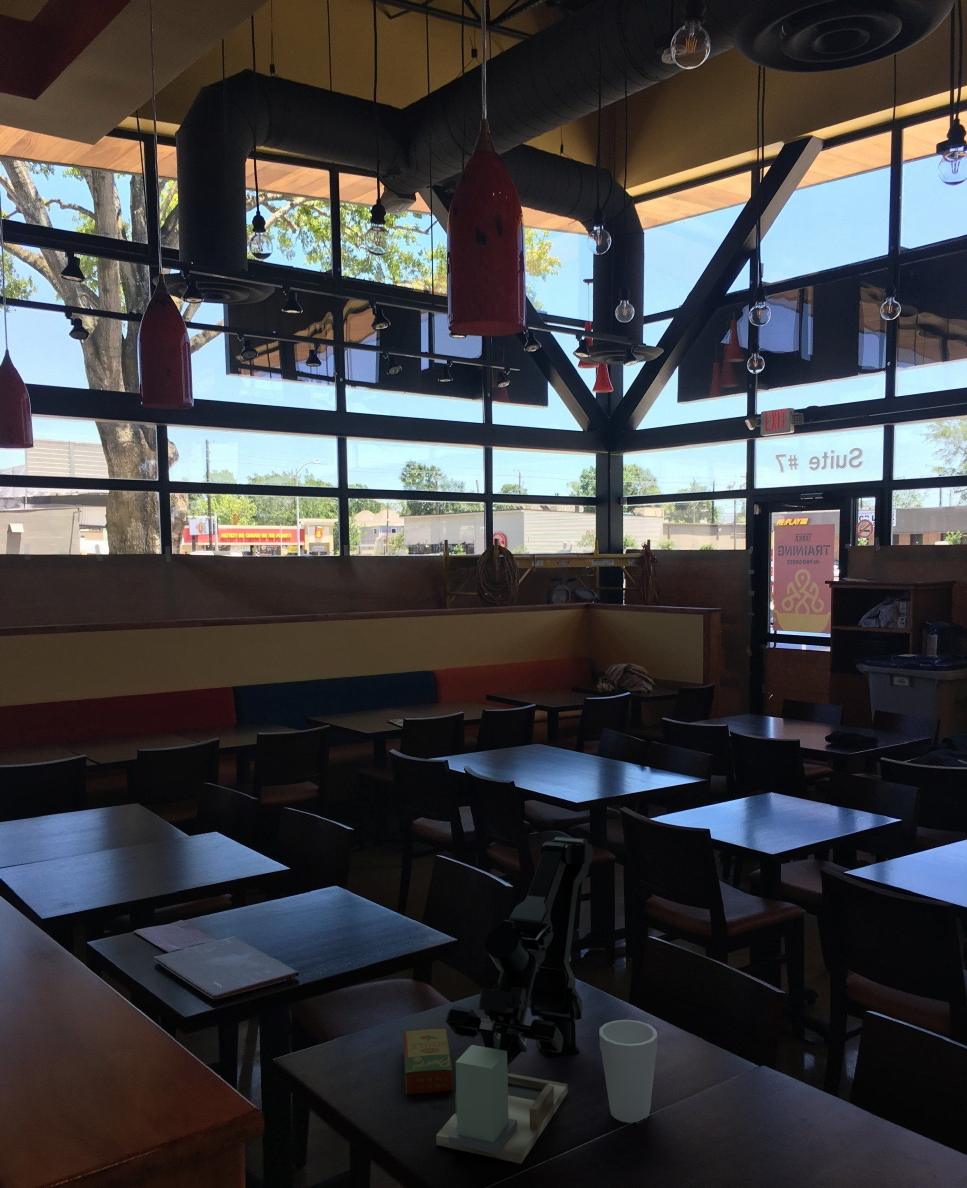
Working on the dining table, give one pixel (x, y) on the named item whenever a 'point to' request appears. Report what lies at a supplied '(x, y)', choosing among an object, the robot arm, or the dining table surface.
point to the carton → (427, 1061)
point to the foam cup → (629, 1067)
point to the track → (518, 1116)
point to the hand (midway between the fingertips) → (490, 1083)
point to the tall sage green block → (482, 1100)
